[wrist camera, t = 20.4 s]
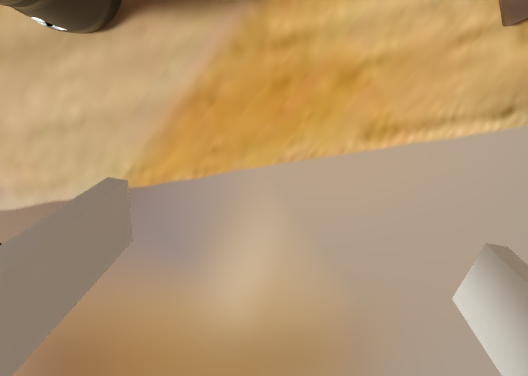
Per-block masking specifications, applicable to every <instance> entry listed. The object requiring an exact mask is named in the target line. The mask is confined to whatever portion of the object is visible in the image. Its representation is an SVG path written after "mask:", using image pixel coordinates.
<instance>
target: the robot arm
mask: <svg viewBox="0 0 528 376" xmlns="http://www.w3.org/2000/svg"><path fill="white" fill-rule="evenodd" d="M120 3H121V0H0V5H5V6H10V7H12V8H14V9H15V10H17V11H19V12H21V13H23V14H25V15H26V16H29V17H31V18H32V19H34V20H36V21H37V22H39V23H41V24H43V25H45V26H47V27H49V28H52V29H55V30H58V31H63V32H71V33H90V32H94V31H96V30H98V29H100V28H102V27H104V26H105V25H106V24H107V23H108V22H109V21H110V20H111V19H112V18H113V17H114V15H115V14H116V12H117V10H118V8H119V6H120ZM132 241H133V237H132V225H131V214H130V201H129V189H128V181H127V180H121V179H115V178H109V177H107V178H106V179H104V180H103V181H101V182H100V183H98V184H96V185H95V186H93V187H92V188H90V189H89V190H87V191H85V192H84V193H82V194H81V195H79V196H77V197H76V198H74V199H73V200H71V201H70V202H68V203H66V204H65V205H63V206H62V207H60V208H59V209H57V210H55V211H54V212H52V213H51V214H49V215H47V216H46V217H44V218H43V219H41V220H40V221H38V222H36V223H35V224H33V225H32V226H30V227H28V228H27V229H25V230H24V231H22V232H21V233H19V234H17V235H16V236H14V237H13V238H11V239H10V240H8V241H6V242H5V243H3V244H1V243H0V376H12V375H13V374H14V373H15V372H16V371H17V369H18V368H19V367H20V366H21V365H22V364H23V363H24V362H25V360H26V359H27V358H28V357H29V356H30V355H31V354H32V353H33V351H34V350H35V349H36V348H37V347H38V346H39V345H40V344H41V343H42V341H43V340H44V339H45V338H46V337H47V336H48V335H49V334H50V333H51V331H52V330H53V329H54V328H55V327H56V326H57V324H59V323H60V321H61V320H62V319H63V318H64V317H65V316H66V315H67V314H68V313H69V311H70V310H71V309H72V308H73V307H74V306H75V305H76V304H77V302H78V301H79V300H80V299H81V298H82V297H83V296H84V294H85V293H86V292H87V291H88V290H89V289H90V288H91V287H92V285H94V283H95V282H96V281H97V280H98V279H99V278H100V277H101V276H102V274H103V273H104V272H105V271H106V270H107V269H108V267H110V265H111V264H112V263H113V262H114V261H115V260H116V259H117V258H118V257H119V256H120V254H121V253H122V252H123V251H124V250H125V249H126V248H127V247H128V245H129V244H130V243H131V242H132ZM453 301H454V302H455V304H456V306H457V307H458V309H459V310H460V312H461V313H462V315H463V316H464V318H465V319H466V321H467V323H468V324H469V325H470V327H471V329H472V330H473V332H474V333H475V335H476V336H477V338H478V339H479V341H480V343H481V344H482V346H483V347H484V349H485V350H486V352H487V353H488V355H489V356H490V358H491V360H492V361H493V363H494V364H495V366H496V367H497V369H498V370H499V372H500V374H501V375H502V376H528V265H527V264H526V263H525V262H524V261H523V260H521V259H520V258H519V257H518V256H517V255H516V254H515V253H514V252H513V251H512V250H510V249H509V248H508V247H505V246H499V245H493V244H487V243H486V244H485V245H484V247H483V249H482V251H481V252H480V254H479V255H478V257H477V259H476V260H475V262H474V264H473V265H472V267H471V269H470V270H469V272H468V274H467V276H466V277H465V279H464V280H463V282H462V284H461V285H460V287H459V289H458V290H457V292H456V294H455V295H454V297H453Z"/></svg>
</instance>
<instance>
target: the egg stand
mask: <svg viewBox="0 0 528 376" xmlns="http://www.w3.org/2000/svg"><path fill="white" fill-rule="evenodd" d="M499 4H500V10H501V17H502V23H503V26H508V25H513V24H515V23H517V22H519V21H521V20H524V19H526V18H528V0H499Z"/></svg>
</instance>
